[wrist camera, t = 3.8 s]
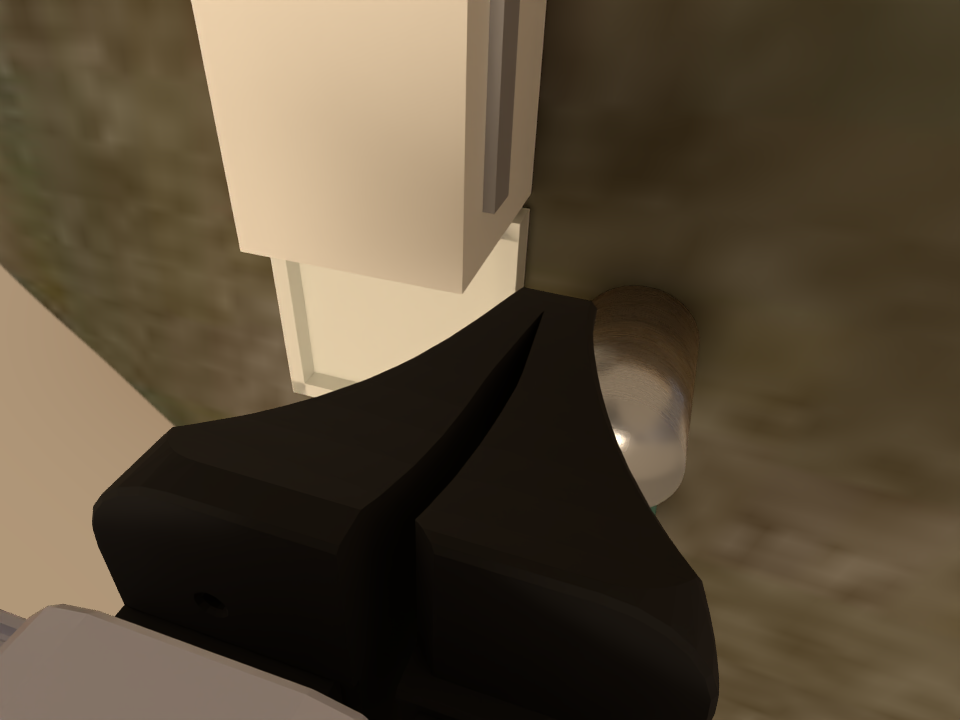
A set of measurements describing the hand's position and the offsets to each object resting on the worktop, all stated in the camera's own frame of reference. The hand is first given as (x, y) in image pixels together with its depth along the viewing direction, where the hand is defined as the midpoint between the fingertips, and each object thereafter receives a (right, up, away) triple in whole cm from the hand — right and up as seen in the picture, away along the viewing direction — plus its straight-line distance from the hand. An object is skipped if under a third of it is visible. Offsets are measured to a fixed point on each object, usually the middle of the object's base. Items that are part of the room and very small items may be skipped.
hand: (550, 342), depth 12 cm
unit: (-2, +9, +7) cm, 12 cm away
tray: (-4, +2, +13) cm, 14 cm away
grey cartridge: (+4, 0, +11) cm, 12 cm away
